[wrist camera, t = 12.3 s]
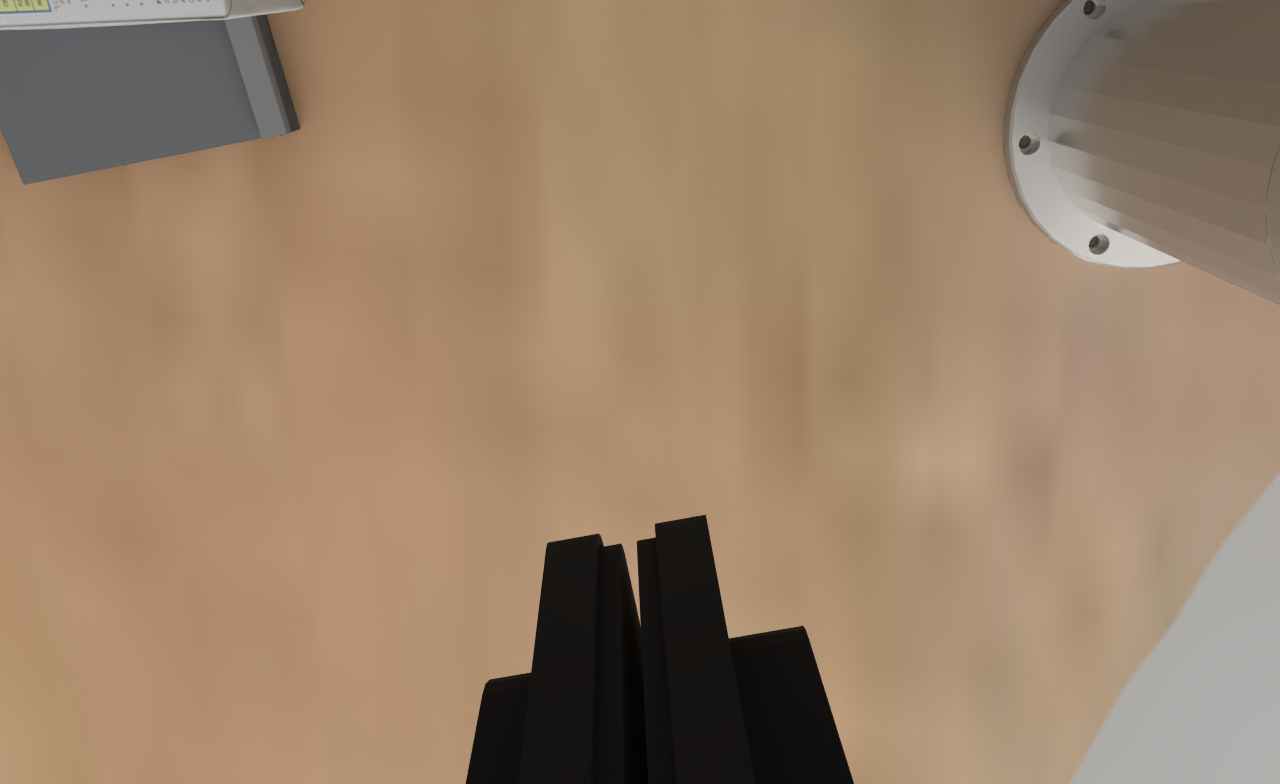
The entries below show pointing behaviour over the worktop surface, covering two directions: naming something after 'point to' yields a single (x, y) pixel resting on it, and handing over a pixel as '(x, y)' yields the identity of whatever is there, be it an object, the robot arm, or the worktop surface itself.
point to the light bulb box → (129, 12)
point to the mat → (137, 93)
